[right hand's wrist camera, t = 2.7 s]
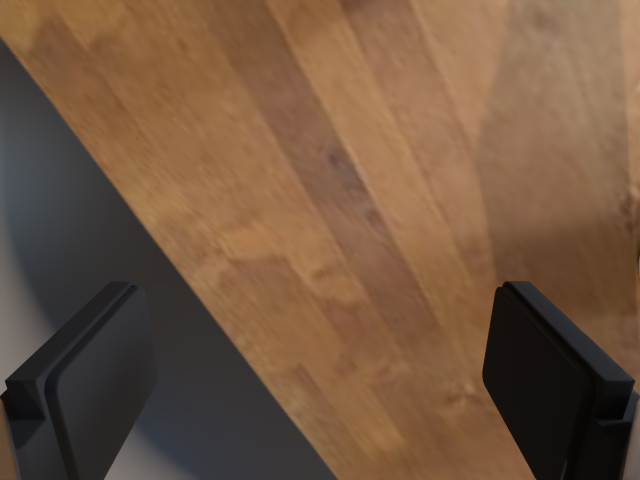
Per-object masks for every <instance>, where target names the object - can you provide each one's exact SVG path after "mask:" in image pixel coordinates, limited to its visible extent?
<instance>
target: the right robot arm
mask: <svg viewBox="0 0 640 480" xmlns="http://www.w3.org/2000/svg"><path fill="white" fill-rule="evenodd" d="M639 276H640V257H639ZM157 377H158V372H157V365H156V359H155V352H154V346H153V340H152V334H151V328H150V322H149V316H148V309H147V303H146V297H145V292H144V289H143V288H142V287H138V286H137V284H136V283H135V282H110V283H109V284H108V285H107V286H106V287H104V288H103V289H102V290H101V291H100V292H99V293H98V294H97V295H96V296H95V297H94V298H93V299H92V300H91V301H90V302H88V303H87V304H86V305H85V306H84V307H83V308H82V309H81V310H80V311H79V312H78V313H77V314H76V315H75V316H74V317H72V318H71V319H70V320H69V321H68V322H67V323H66V324H65V325H64V326H63V327H62V328H61V329H60V330H59V331H58V332H56V333H55V334H54V335H53V336H52V337H51V338H50V339H49V340H48V341H47V342H46V343H45V344H44V345H43V346H41V347H40V348H39V349H38V350H37V351H36V352H35V353H34V354H33V355H32V356H31V357H30V358H29V359H28V360H27V361H25V362H24V363H23V364H22V365H21V366H20V367H19V368H18V369H17V370H16V371H15V372H14V373H13V374H12V375H11V376H9V377H8V378H7V379H6V380H5V383H6V386H7V390H6V391H5V392H4V393H3V394H2V395H1V396H0V480H104V478H105V476H106V474H107V473H108V471H109V469H110V467H111V465H112V464H113V462H114V460H115V458H116V456H117V454H118V453H119V451H120V449H121V447H122V445H123V444H124V442H125V440H126V438H127V436H128V434H129V433H130V431H131V429H132V427H133V425H134V423H135V422H136V420H137V418H138V416H139V414H140V413H141V411H142V409H143V407H144V405H145V403H146V402H147V400H148V398H149V396H150V394H151V393H152V391H153V389H154V387H155V385H156V382H157ZM482 377H483V382H484V385H485V387H486V389H487V391H488V393H489V394H490V396H491V398H492V400H493V402H494V403H495V405H496V407H497V409H498V411H499V413H500V414H501V416H502V418H503V420H504V422H505V424H506V425H507V427H508V429H509V431H510V433H511V434H512V436H513V438H514V440H515V442H516V444H517V445H518V447H519V449H520V451H521V453H522V454H523V456H524V458H525V460H526V462H527V464H528V465H529V467H530V469H531V471H532V473H533V475H534V476H535V478H536V480H640V396H639V395H638V394H637V393H636V392H635V391H634V390H633V386H634V383H635V380H634V379H633V378H632V377H631V376H629V375H628V374H627V373H626V372H625V371H624V370H623V369H622V368H621V367H620V366H619V365H618V364H617V363H616V362H615V361H613V360H612V359H611V358H610V357H609V356H608V355H607V354H606V353H605V352H604V351H603V350H602V349H601V348H600V347H599V346H597V345H596V344H595V343H594V342H593V341H592V340H591V339H590V338H589V337H588V336H587V335H586V334H585V333H584V332H583V331H581V330H580V329H579V328H578V327H577V326H576V325H575V324H574V323H573V322H572V321H571V320H570V319H569V318H568V317H566V316H565V315H564V314H563V313H562V312H561V311H560V310H559V309H558V308H557V307H556V306H555V305H554V304H553V303H552V302H550V301H549V300H548V299H547V298H546V297H545V296H544V295H543V294H542V293H541V292H540V291H539V290H538V289H537V288H536V287H534V286H533V285H532V284H531V283H530V282H505V283H504V284H503V286H502V287H498V288H497V289H496V292H495V297H494V303H493V309H492V315H491V322H490V328H489V334H488V340H487V346H486V352H485V358H484V365H483V371H482Z"/></svg>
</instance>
